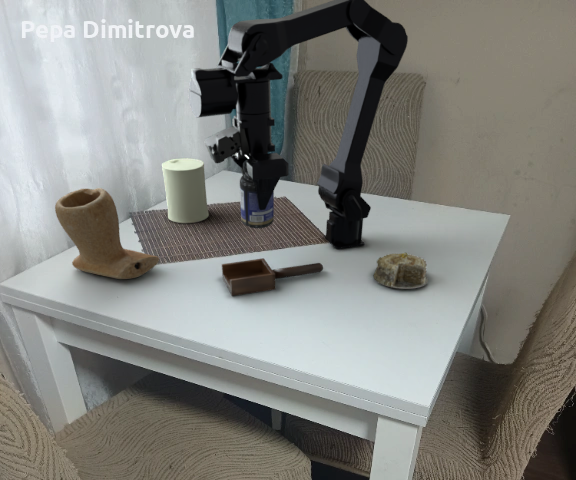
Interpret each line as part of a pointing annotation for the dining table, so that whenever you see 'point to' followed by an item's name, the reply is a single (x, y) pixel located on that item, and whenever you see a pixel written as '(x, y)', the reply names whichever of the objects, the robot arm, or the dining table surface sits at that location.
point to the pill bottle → (253, 204)
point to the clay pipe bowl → (99, 235)
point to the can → (185, 190)
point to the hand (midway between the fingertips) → (257, 203)
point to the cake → (401, 271)
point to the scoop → (260, 275)
